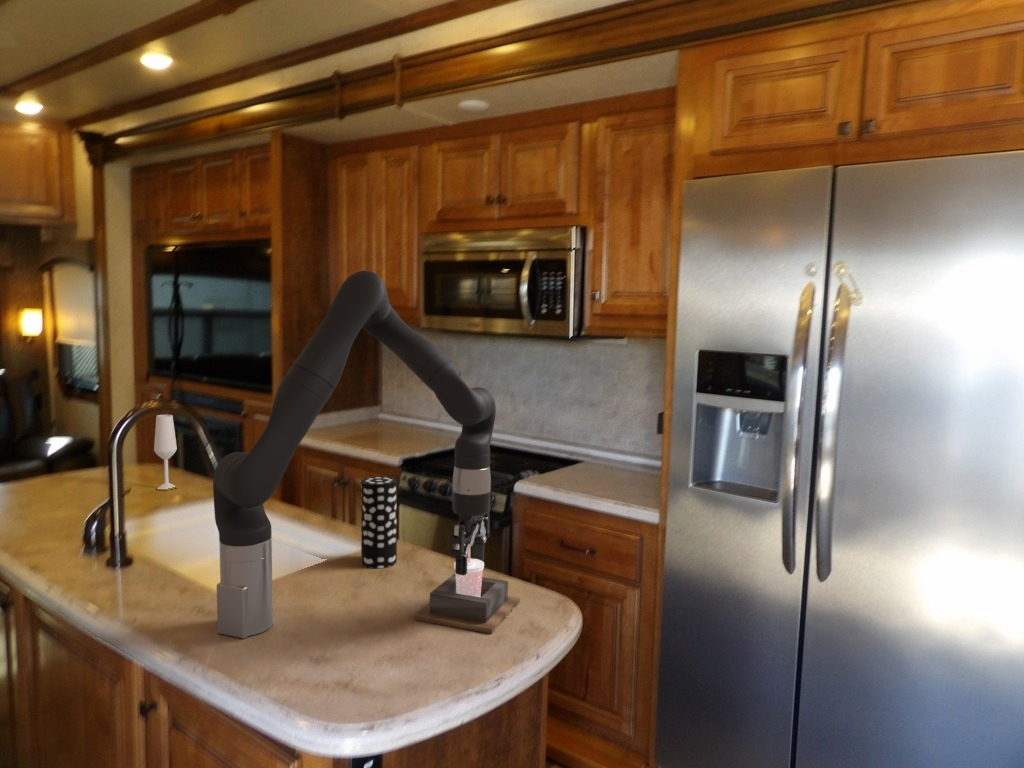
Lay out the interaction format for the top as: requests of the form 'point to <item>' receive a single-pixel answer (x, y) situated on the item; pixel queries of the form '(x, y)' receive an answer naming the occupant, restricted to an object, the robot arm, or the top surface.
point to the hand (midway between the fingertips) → (470, 567)
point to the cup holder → (469, 606)
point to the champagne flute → (165, 443)
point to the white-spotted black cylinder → (378, 522)
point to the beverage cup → (470, 578)
